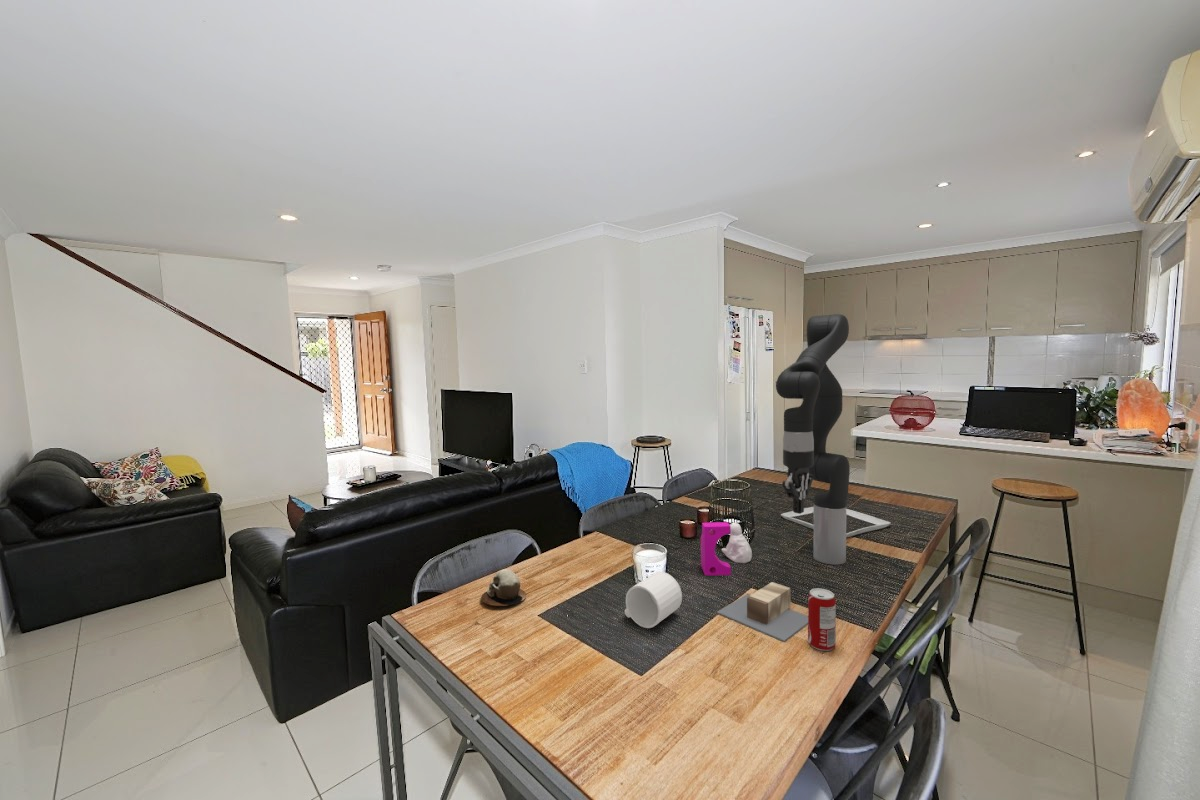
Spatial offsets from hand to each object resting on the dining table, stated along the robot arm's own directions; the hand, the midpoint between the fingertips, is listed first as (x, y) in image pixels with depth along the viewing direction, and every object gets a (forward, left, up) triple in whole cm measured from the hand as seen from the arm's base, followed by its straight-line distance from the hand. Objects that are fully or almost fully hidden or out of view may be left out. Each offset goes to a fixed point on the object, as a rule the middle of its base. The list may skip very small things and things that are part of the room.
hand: (798, 512), depth 132 cm
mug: (+32, -20, -18) cm, 42 cm away
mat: (+17, 0, -22) cm, 28 cm away
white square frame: (-61, -17, -23) cm, 67 cm away
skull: (+62, -53, -24) cm, 85 cm away
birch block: (+9, 0, -19) cm, 21 cm away
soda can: (+19, +15, -23) cm, 33 cm away
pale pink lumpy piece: (-8, -24, -23) cm, 34 cm away
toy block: (+7, -26, -15) cm, 31 cm away
